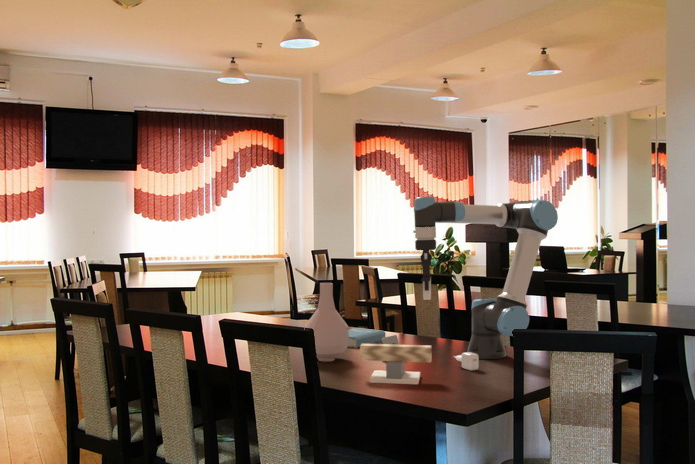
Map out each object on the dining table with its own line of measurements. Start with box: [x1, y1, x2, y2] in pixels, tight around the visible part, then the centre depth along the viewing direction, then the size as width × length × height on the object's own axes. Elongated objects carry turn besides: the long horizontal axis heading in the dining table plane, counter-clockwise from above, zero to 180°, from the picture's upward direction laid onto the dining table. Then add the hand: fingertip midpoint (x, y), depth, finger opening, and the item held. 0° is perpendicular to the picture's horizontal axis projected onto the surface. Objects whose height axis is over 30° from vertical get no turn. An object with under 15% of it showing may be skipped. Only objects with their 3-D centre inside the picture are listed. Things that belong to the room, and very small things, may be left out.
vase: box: [304, 282, 349, 362], centre depth 253 cm, size 18×18×30 cm
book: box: [347, 327, 386, 349], centre depth 291 cm, size 23×16×5 cm
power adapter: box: [452, 351, 480, 371], centre depth 238 cm, size 11×5×6 cm, turn 28°
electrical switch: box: [377, 334, 400, 345], centre depth 254 cm, size 9×5×9 cm, turn 141°
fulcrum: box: [369, 361, 421, 385], centre depth 219 cm, size 16×12×6 cm
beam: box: [359, 343, 433, 363], centre depth 219 cm, size 24×4×5 cm, turn 80°
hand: (427, 297), depth 235 cm, fingers open, 13 cm apart
